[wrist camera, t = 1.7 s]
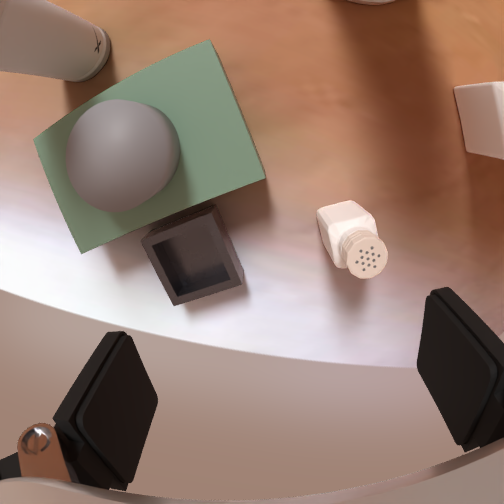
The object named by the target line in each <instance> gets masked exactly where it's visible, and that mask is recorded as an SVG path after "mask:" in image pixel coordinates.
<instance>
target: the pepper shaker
mask: <svg viewBox="0 0 504 504" xmlns="http://www.w3.org/2000/svg"><path fill="white" fill-rule="evenodd" d="M316 216H317V220H318V224H319V228H320V232H321V237H322V241H323V244H324V246H325V248H326V249H327V251H328V253H329V255H330V257H331V259H332V261H333V262H334V264H335V265H336V267H337V268H342V269H344V268H348V269H349V271H350V273H351V274H352V275H354V276H356V277H358V278H360V279H367V278H372V277H374V276H376V275H378V274H379V273H381V271H382V270H383V268H384V267H385V266H386V264H387V258H388V251H387V248H386V246H385V244H384V242H383V241H382V240H380V238H378V233H377V228H376V223H375V219H374V218H373V217H372V215H371V214H370V213H369V212H367V211H366V210H365V209H363V208H362V207H361V206H360V205H358V204H357V203H356V202H355V201H351V200H348V201H344V202H340V203H337V204H333V205H329V206H325V207H321V208H320V209H318V210H317V215H316Z"/></svg>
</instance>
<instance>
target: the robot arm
mask: <svg viewBox="0 0 504 504" xmlns="http://www.w3.org/2000/svg"><path fill="white" fill-rule="evenodd" d="M347 1H352V2H356V3H359V4H368V5H381V4H386V3H391V2H393V1H395V0H347ZM417 369H418V372H419V374H420V375H421V377H422V379H423V381H424V383H425V385H426V386H427V388H428V390H429V392H430V394H431V396H432V397H433V399H434V401H435V403H436V405H437V407H438V409H439V411H440V413H441V415H442V417H443V418H444V421H445V423H446V425H447V426H448V429H449V430H450V433H451V435H452V436H453V439H454V441H455V443H456V444H457V445H461V446H462V448H463V450H464V452H467V451H470V450H472V449H474V448H476V447H480V448H479V449H477V450H475V451H472V452H470V453H468V454H465V455H462V456H460V457H457V458H455V459H452V460H449V461H446V462H444V463H441V464H438V465H435V466H432V467H430V468H427V469H424V470H420V471H417V472H414V473H411V474H408V475H404V476H401V477H397V478H393V479H390V480H386V481H382V482H378V483H374V484H369V485H365V486H360V487H355V488H350V489H345V490H340V491H334V492H328V493H322V494H315V495H307V496H300V497H289V498H280V499H279V498H278V499H264V500H236V501H219V500H216V501H215V500H213V501H212V500H190V499H189V500H187V499H175V498H163V497H155V496H146V495H139V494H132V493H126V492H118V491H113V490H109V488H112V489H117V490H122V491H126V489H127V486H128V483H131V482H132V481H133V479H134V476H135V473H136V469H137V466H138V463H139V460H140V457H141V453H142V450H143V447H144V444H145V441H146V438H147V435H148V431H149V428H150V425H151V422H152V419H153V416H154V413H155V410H156V407H157V404H158V398H157V394H156V392H155V390H154V387H153V385H152V383H151V381H150V379H149V376H148V374H147V372H146V370H145V368H144V365H143V363H142V361H141V358H140V356H139V354H138V351H137V349H136V346H135V344H134V342H133V339H132V337H131V336H129V335H127V334H126V333H125V332H124V331H118V332H107V333H106V335H105V336H104V337H103V339H102V340H101V342H100V343H99V345H98V346H97V348H96V349H95V351H94V353H93V354H92V356H91V357H90V359H89V360H88V362H87V363H86V365H85V366H84V368H83V369H82V371H81V373H80V374H79V376H78V377H77V379H76V380H75V382H74V384H73V385H72V387H71V388H70V390H69V392H68V393H67V395H66V397H65V398H64V400H63V401H62V403H61V405H60V407H59V408H58V410H57V412H56V413H55V415H54V417H53V420H54V421H55V423H56V424H55V426H54V428H53V427H52V426H51V425H50V424H46V423H38V424H34V425H32V426H30V427H28V428H27V429H26V430H25V431H24V432H23V433H22V434H21V436H20V437H19V440H18V443H17V450H18V452H16V453H14V454H12V455H10V456H8V457H6V458H3V459H1V460H0V504H504V343H503V342H502V341H501V340H500V339H499V338H498V336H497V335H496V334H495V333H494V332H493V331H492V330H491V329H490V328H489V327H488V326H487V325H486V324H485V323H484V322H483V320H482V319H481V318H480V317H479V316H478V315H477V314H476V313H475V312H474V311H473V310H472V309H471V308H470V307H469V306H468V305H467V304H466V303H465V302H464V301H463V300H462V299H461V298H460V297H459V296H458V295H457V294H456V293H455V292H454V291H453V290H452V289H451V288H449V287H444V288H440V289H435V290H432V291H431V293H430V295H429V296H427V298H426V302H425V311H424V319H423V327H422V334H421V340H420V346H419V352H418V358H417Z"/></svg>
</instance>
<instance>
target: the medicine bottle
mask: <svg viewBox="0 0 504 504" xmlns="http://www.w3.org/2000/svg"><path fill="white" fill-rule="evenodd" d="M454 94H455V98H456V102H457V106H458V111H459V115H460V120H461V125H462V130H463V135H464V141H465V147H466V151H467V152H470V153H475V154H480V155H485V156H490V157H495V158H499V159H504V82H487V83H478V84H471V85H463V86H456V87H454Z"/></svg>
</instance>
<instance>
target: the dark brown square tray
mask: <svg viewBox="0 0 504 504" xmlns="http://www.w3.org/2000/svg"><path fill="white" fill-rule="evenodd" d="M141 243H142V245H143V247H144V249H145V251H146V253H147V255H148V257H149V259H150V261H151V263H152V265H153V267H154V269H155V271H156V273H157V275H158V277H159V279H160V281H161V283H162V285H163V286H164V288H165V290H166V292H167V294H168V296H169V298H170V300H171V302H172V303H173V305H174V306H176V305H179V304H182V303H185V302H189V301H192V300H195V299H198V298H201V297H204V296H207V295H211V294H214V293H217V292H220V291H223V290H226V289H229V288H232V287H235V286H238V285H241V284H242V281H243V273H244V270H243V268H242V266H241V263H240V261H239V259H238V256H237V254H236V251H235V249H234V247H233V244H232V242H231V240H230V237H229V235H228V232H227V230H226V228H225V225H224V223H223V221H222V218H221V216H220V213H219V211H218V209H217V206H216V205H214V206H212V207H209V208H207V209H204V210H201V211H199V212H196V213H194V214H191V215H189V216H186V217H184V218H181V219H179V220H176V221H174V222H171V223H169V224H167V225H164V226H162V227H159V228H157V229H154V230H152V231H150V232H149V233H148V234H147V235H146V236H145V237H144V238H143V239H142V240H141Z"/></svg>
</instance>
